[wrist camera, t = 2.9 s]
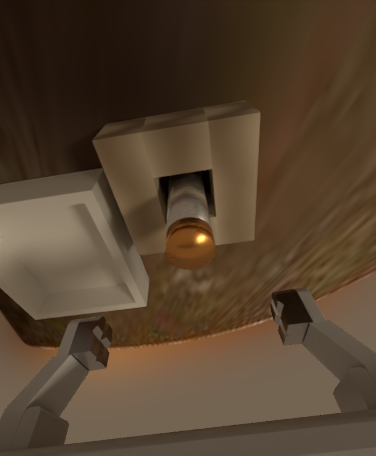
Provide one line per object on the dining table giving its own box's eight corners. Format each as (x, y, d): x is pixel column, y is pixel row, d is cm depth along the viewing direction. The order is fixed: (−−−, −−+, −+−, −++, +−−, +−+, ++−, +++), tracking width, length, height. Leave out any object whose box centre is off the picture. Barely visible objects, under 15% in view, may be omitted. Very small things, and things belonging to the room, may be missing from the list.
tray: (104, 167, 20) (91, 190, 17) (149, 279, 31) (146, 306, 27) (-42, 190, 21) (-79, 216, 18) (49, 292, 31) (35, 319, 28)
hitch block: (245, 99, 18) (260, 112, 14) (244, 214, 24) (254, 240, 21) (106, 123, 18) (91, 140, 15) (143, 229, 25) (138, 255, 22)
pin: (199, 158, 20) (214, 229, 13) (202, 187, 22) (217, 266, 14) (166, 163, 20) (160, 237, 13) (172, 192, 22) (170, 272, 15)
